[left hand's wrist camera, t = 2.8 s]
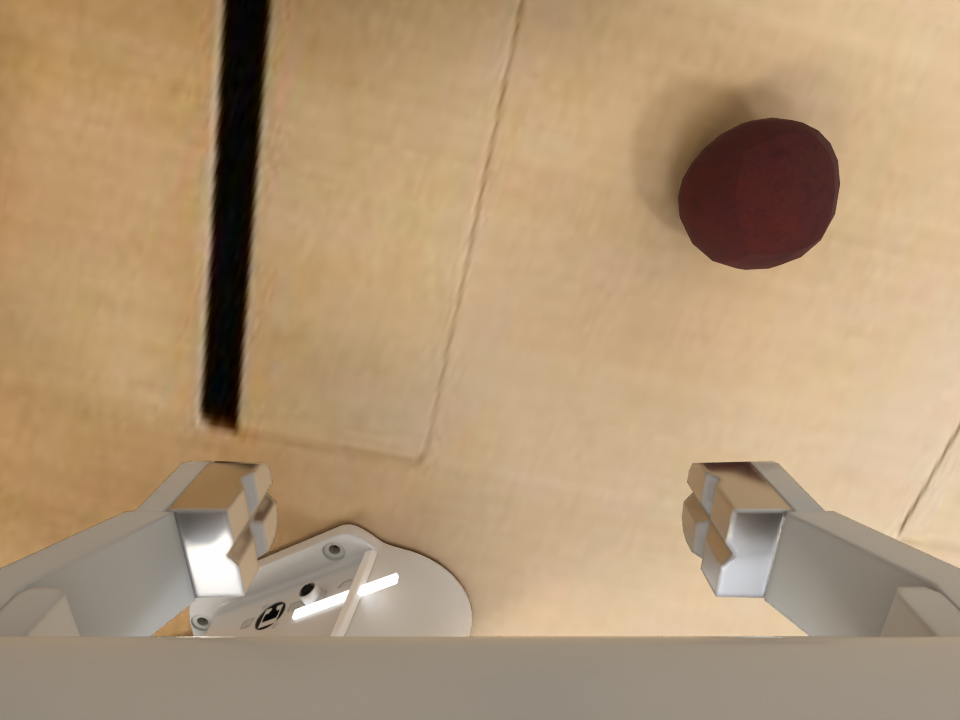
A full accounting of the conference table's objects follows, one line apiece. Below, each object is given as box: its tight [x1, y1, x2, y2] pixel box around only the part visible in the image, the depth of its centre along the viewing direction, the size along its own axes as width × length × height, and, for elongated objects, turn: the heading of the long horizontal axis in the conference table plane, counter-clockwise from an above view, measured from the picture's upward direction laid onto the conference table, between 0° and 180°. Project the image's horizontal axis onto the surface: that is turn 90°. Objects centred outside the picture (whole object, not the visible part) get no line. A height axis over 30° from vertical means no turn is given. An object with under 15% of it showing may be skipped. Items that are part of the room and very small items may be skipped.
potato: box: [678, 118, 840, 270], centre depth 28 cm, size 7×8×7 cm
